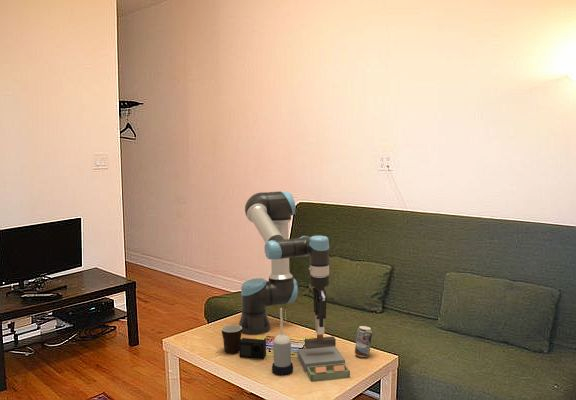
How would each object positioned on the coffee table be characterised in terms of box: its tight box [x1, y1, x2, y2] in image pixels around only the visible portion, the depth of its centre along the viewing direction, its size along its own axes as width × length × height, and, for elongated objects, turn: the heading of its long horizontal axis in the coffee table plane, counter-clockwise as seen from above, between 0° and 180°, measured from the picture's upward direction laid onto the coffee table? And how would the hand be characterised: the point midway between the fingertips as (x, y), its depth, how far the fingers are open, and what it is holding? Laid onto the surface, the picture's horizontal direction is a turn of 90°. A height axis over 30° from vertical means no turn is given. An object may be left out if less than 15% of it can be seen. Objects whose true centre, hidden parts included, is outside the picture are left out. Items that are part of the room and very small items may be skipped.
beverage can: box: [354, 325, 373, 358], centre depth 210 cm, size 6×7×12 cm
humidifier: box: [271, 307, 294, 377], centre depth 196 cm, size 8×8×25 cm
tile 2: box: [332, 365, 345, 372], centre depth 193 cm, size 4×4×2 cm
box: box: [306, 362, 351, 382], centre depth 193 cm, size 7×15×2 cm, turn 101°
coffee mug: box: [221, 324, 243, 355], centre depth 218 cm, size 12×9×10 cm
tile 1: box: [314, 366, 327, 374], centre depth 191 cm, size 4×4×2 cm
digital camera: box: [238, 337, 267, 360], centre depth 210 cm, size 10×5×7 cm, turn 77°
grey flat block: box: [296, 346, 346, 374], centre depth 204 cm, size 14×16×4 cm
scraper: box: [304, 314, 337, 349], centre depth 204 cm, size 3×12×13 cm, turn 101°
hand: (319, 332), depth 204 cm, fingers closed on scraper, 2 cm apart
